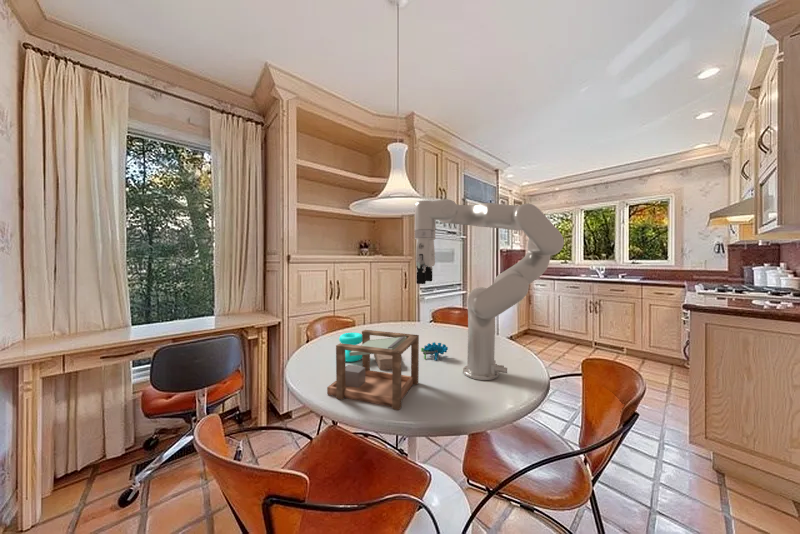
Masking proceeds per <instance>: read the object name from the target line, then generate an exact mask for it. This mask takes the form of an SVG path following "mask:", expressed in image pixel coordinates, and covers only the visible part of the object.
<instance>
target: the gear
mask: <svg viewBox="0 0 800 534" xmlns="http://www.w3.org/2000/svg"><path fill="white" fill-rule="evenodd" d="M448 349H449V348H448V346H447V345H446V344H444V343H443V344H442V342H438V343H436V341H434V342H432V343H430V342H429V343H427V345H424V347H421V348H420V352H422V354H423V357H424V358H423V359H424V360H427V355H430V356H434V361H436V360H437V361H438V356H439V355H444V353H447V352H448V351H447V350H448Z"/></svg>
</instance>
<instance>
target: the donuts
mask: <svg viewBox="0 0 800 534" xmlns="http://www.w3.org/2000/svg"><path fill="white" fill-rule="evenodd" d="M338 339H339V340H338V341H339V343H342V344H351V345H360V344H362V333H359V332H347V333H346V332H345V333H342V334H340V336H339V338H338ZM350 352H351V351H350V350H345V363H348V362H349V363H353V362H358V361H361V360H362V355H354V356H350Z"/></svg>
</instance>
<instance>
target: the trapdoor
mask: <svg viewBox="0 0 800 534" xmlns="http://www.w3.org/2000/svg"><path fill="white" fill-rule="evenodd" d="M406 339H407V337H397V338H394V337H387V338H378V339H377V338H376V339H370V340H368V341H367V342H365V343H364V344H362V343H361V345H360V346H368V347H376V348H385V349H393V350H394V349H395V348H397V347H398V346H399V345H400V344H401V343H402V342H404V341H405V340H406ZM367 354H370V355H374V353H366V352H358V351H351V352H350V356H354V355H367Z"/></svg>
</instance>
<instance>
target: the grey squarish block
mask: <svg viewBox="0 0 800 534" xmlns="http://www.w3.org/2000/svg"><path fill="white" fill-rule="evenodd" d="M345 378H346V386H351V387H357V388H359V387H360V386H361V385H362V384H364V383H365V367H362V366H359V365H352V364H346V365H345Z"/></svg>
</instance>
